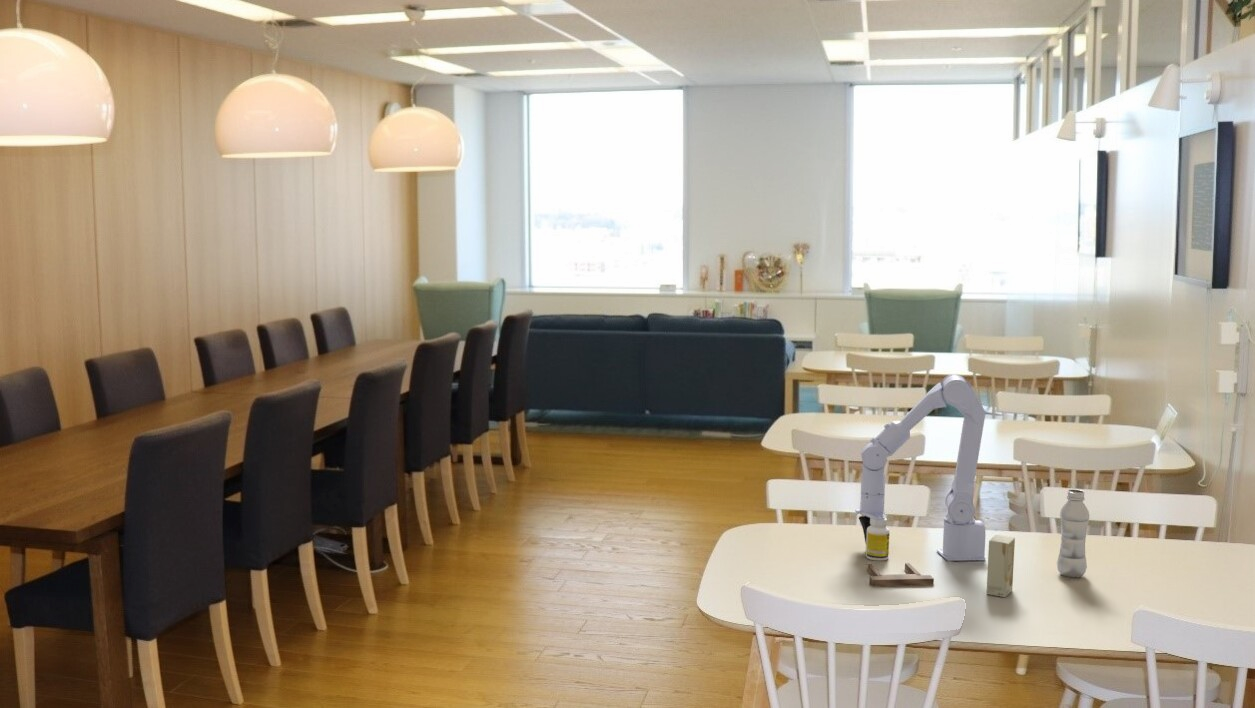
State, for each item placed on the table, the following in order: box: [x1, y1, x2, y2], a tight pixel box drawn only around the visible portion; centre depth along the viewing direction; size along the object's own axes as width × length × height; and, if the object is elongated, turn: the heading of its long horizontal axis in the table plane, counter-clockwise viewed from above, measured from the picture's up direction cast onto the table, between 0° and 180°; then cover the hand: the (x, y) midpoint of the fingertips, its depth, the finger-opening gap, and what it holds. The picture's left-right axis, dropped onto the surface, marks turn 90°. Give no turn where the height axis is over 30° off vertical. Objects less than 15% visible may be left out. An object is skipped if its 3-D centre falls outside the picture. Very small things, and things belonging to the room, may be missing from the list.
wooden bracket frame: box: [866, 562, 935, 587], centre depth 268 cm, size 14×11×2 cm
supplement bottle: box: [865, 517, 890, 562], centre depth 282 cm, size 5×5×10 cm
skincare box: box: [985, 534, 1016, 598], centre depth 257 cm, size 6×4×12 cm
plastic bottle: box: [1056, 489, 1090, 578], centre depth 268 cm, size 6×7×20 cm
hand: (870, 546), depth 288 cm, fingers closed
